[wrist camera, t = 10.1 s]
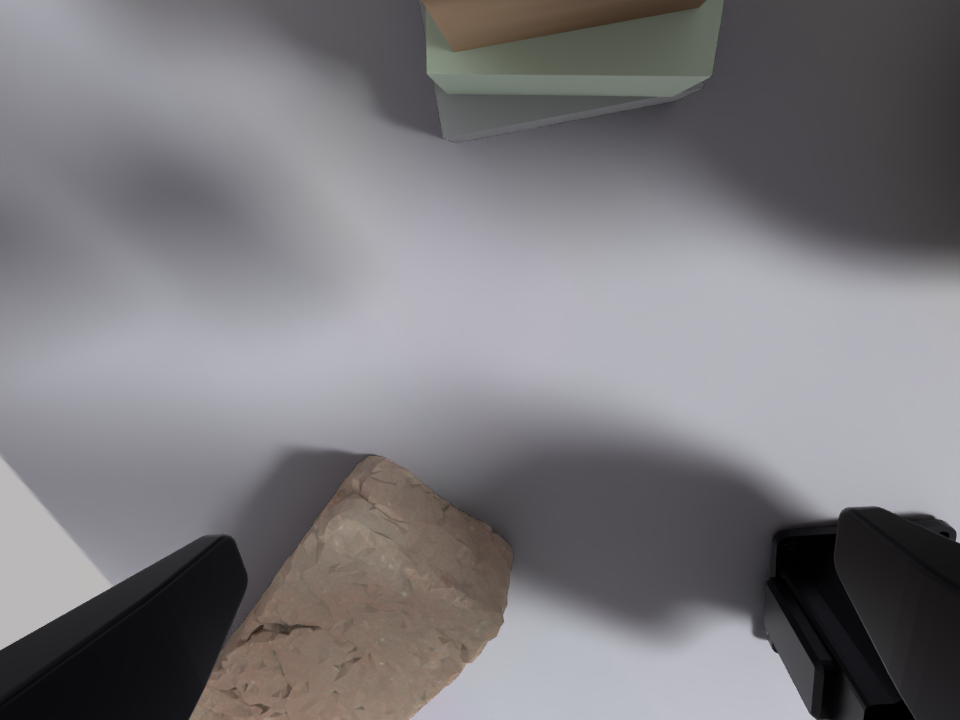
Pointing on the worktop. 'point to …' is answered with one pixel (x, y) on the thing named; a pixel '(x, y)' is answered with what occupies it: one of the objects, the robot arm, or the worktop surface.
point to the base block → (525, 109)
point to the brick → (366, 609)
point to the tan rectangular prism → (535, 17)
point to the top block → (586, 58)
